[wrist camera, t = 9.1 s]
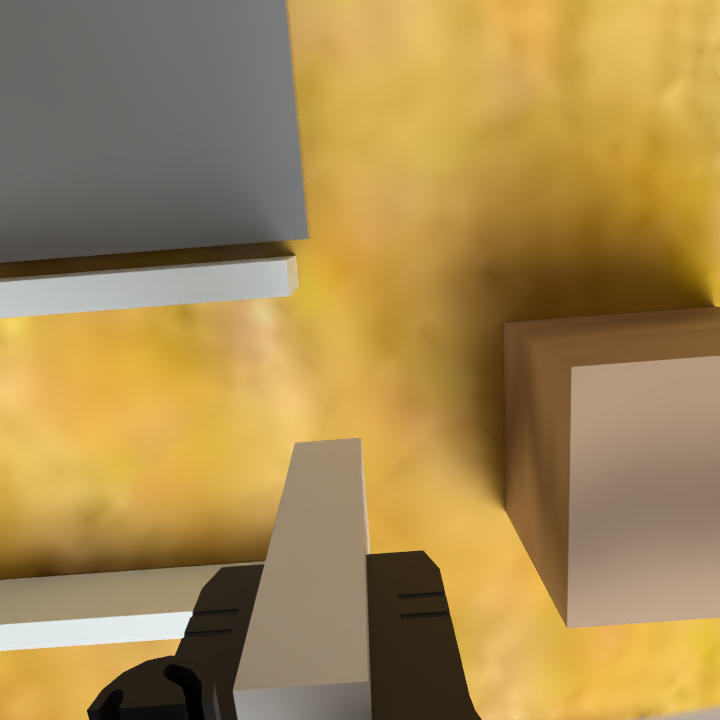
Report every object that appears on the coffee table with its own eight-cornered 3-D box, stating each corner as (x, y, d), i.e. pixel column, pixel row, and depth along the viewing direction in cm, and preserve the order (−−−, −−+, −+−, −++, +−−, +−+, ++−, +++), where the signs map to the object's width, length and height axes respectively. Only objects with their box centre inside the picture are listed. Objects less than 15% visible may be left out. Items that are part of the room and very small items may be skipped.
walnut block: (502, 322, 18) (571, 367, 12) (711, 305, 18) (881, 343, 12) (505, 510, 20) (567, 628, 14) (697, 496, 20) (839, 608, 14)
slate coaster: (-130, -142, 15) (-150, -156, 14) (270, -177, 15) (266, -193, 14) (-31, 264, 17) (-44, 266, 17) (309, 238, 17) (308, 238, 17)
